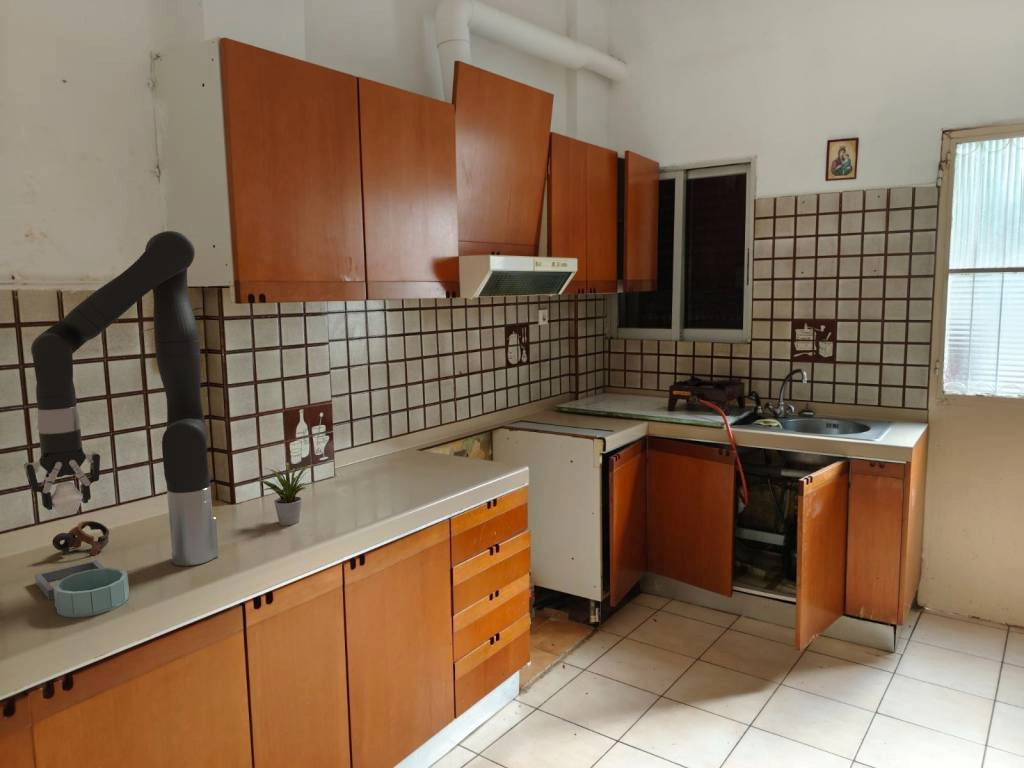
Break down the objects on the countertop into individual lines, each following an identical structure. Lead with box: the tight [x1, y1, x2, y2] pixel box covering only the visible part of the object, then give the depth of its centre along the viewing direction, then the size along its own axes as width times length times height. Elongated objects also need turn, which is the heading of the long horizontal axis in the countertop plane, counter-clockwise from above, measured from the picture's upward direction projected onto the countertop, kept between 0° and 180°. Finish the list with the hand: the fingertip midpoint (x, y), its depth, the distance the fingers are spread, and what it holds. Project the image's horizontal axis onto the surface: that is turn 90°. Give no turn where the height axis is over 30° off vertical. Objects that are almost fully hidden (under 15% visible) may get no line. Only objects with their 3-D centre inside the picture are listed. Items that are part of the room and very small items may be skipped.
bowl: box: [52, 567, 130, 619], centre depth 150 cm, size 13×13×5 cm
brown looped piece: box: [51, 520, 110, 556], centre depth 179 cm, size 12×10×8 cm
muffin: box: [51, 481, 83, 516], centre depth 158 cm, size 6×6×7 cm
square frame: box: [34, 559, 105, 601], centre depth 161 cm, size 12×12×2 cm
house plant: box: [258, 462, 314, 526], centre depth 201 cm, size 14×14×16 cm
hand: (67, 505), depth 158 cm, fingers closed on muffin, 6 cm apart
